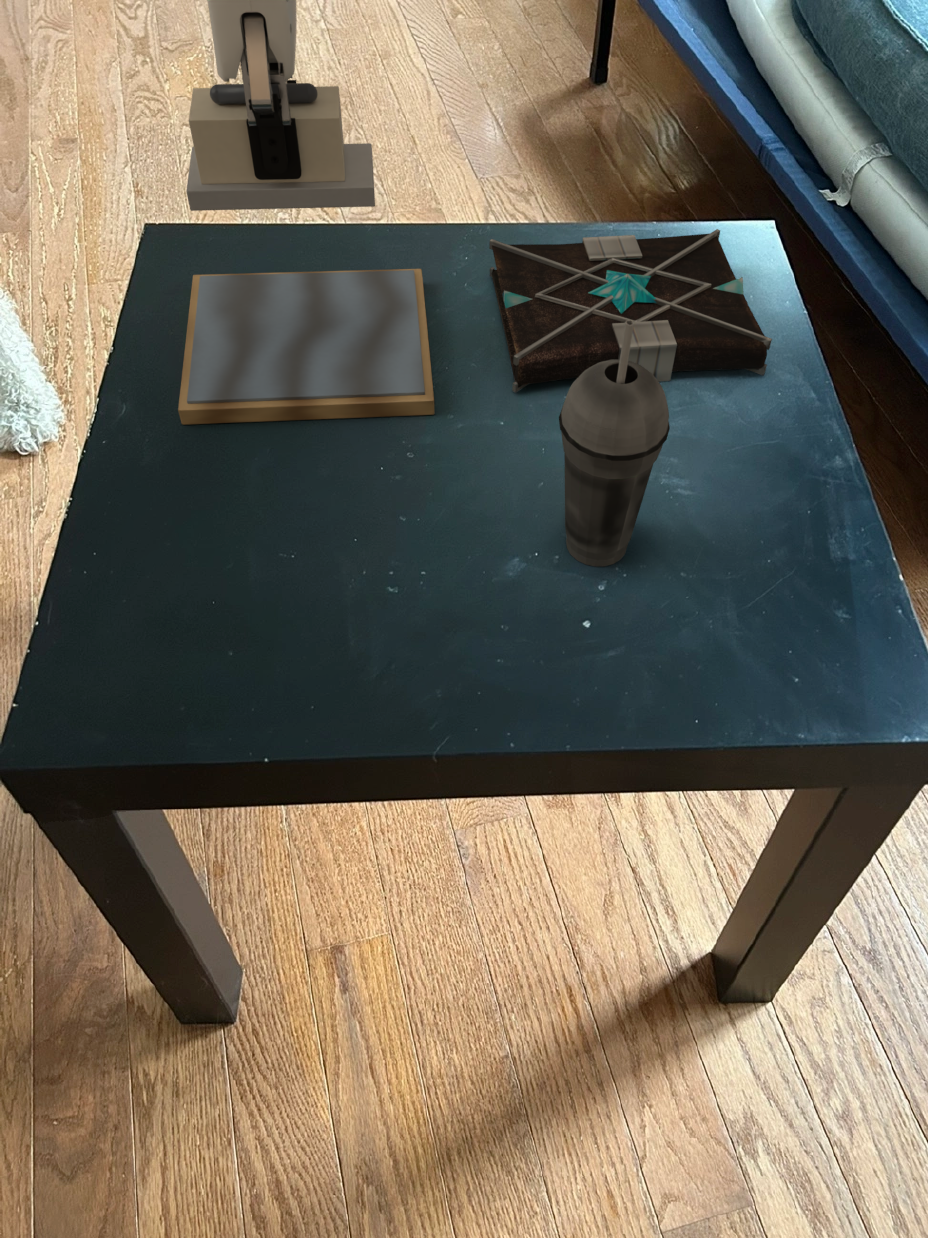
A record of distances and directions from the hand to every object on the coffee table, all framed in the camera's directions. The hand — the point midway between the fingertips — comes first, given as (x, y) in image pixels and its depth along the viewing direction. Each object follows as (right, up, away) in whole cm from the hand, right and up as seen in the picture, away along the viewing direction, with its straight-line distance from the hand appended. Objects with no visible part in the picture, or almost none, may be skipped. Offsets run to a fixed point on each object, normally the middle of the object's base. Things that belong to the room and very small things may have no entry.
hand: (279, 155), depth 78 cm
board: (-1, -9, +15) cm, 18 cm away
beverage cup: (+23, -27, +3) cm, 36 cm away
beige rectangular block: (0, -1, +2) cm, 2 cm away
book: (+26, -6, +19) cm, 33 cm away
